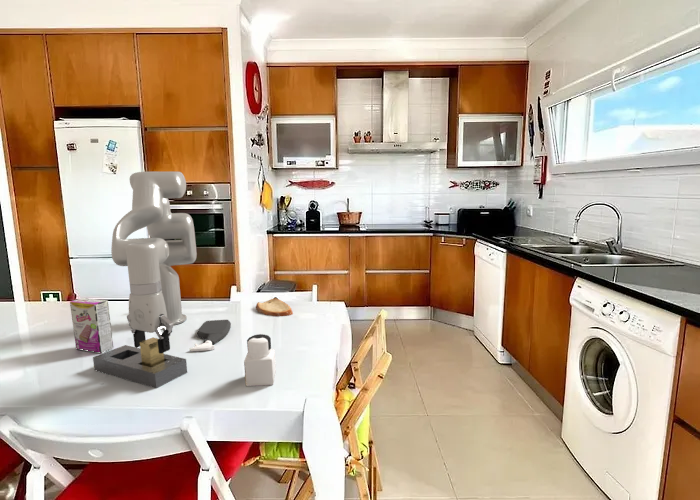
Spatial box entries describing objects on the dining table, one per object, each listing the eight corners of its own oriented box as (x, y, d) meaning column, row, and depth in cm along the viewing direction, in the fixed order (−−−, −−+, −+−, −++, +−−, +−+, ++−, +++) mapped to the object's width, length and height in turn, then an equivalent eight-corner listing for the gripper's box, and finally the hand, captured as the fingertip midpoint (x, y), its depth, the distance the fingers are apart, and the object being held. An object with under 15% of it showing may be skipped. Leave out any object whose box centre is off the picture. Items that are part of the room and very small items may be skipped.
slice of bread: (291, 317, 165) (290, 308, 164) (247, 317, 167) (246, 308, 166) (300, 304, 182) (300, 296, 182) (260, 304, 184) (260, 296, 184)
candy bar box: (74, 350, 134) (68, 301, 132) (89, 345, 139) (83, 297, 137) (100, 354, 131) (94, 303, 128) (114, 348, 135) (108, 299, 133)
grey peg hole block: (94, 370, 119) (92, 357, 118) (126, 357, 128) (125, 345, 127) (156, 388, 107) (154, 373, 107) (187, 372, 116) (186, 358, 115)
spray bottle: (233, 326, 156) (220, 352, 132) (203, 328, 154) (184, 355, 130) (232, 318, 155) (219, 344, 131) (202, 320, 154) (184, 346, 130)
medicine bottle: (249, 374, 114) (247, 332, 112) (276, 373, 114) (273, 331, 113) (245, 387, 107) (242, 342, 105) (273, 385, 107) (271, 341, 106)
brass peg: (143, 376, 114) (139, 342, 113) (156, 371, 117) (152, 337, 116) (152, 379, 112) (149, 344, 111) (165, 373, 116) (162, 339, 114)
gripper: (112, 288, 112) (119, 348, 115) (156, 295, 104) (162, 359, 107) (137, 282, 118) (143, 339, 121) (180, 288, 111) (185, 348, 113)
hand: (152, 348), depth 114 cm, fingers open, 9 cm apart
